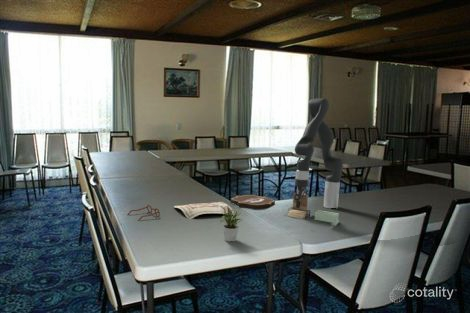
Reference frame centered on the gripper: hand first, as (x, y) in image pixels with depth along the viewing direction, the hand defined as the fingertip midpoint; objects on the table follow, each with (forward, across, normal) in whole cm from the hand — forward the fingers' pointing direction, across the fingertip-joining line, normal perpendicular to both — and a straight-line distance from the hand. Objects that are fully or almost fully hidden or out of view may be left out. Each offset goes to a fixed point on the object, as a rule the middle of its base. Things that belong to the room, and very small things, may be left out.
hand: (299, 206), depth 218 cm
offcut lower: (+5, +5, 0) cm, 7 cm away
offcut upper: (+3, +6, 0) cm, 7 cm away
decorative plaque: (+7, -13, -35) cm, 38 cm away
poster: (+7, +24, -50) cm, 56 cm away
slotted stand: (+6, +1, +16) cm, 17 cm away
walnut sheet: (+5, 0, 0) cm, 5 cm away
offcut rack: (+6, +3, 0) cm, 7 cm away
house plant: (+7, +60, -16) cm, 62 cm away
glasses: (+7, +53, -70) cm, 88 cm away
